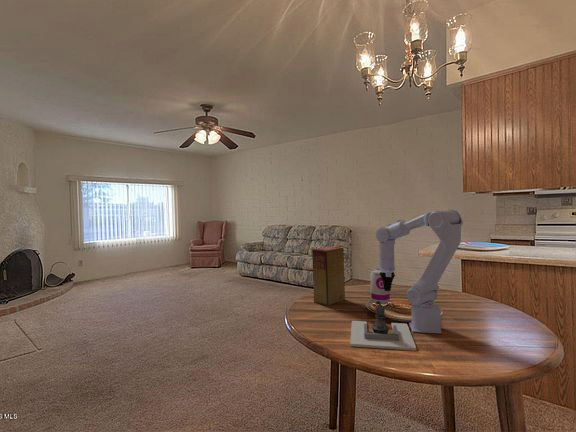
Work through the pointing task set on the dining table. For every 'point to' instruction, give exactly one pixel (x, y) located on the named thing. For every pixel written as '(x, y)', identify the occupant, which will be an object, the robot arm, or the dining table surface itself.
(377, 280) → the supplement can
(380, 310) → the black chess piece
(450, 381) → the dining table surface
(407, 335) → the board
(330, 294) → the food packaging
